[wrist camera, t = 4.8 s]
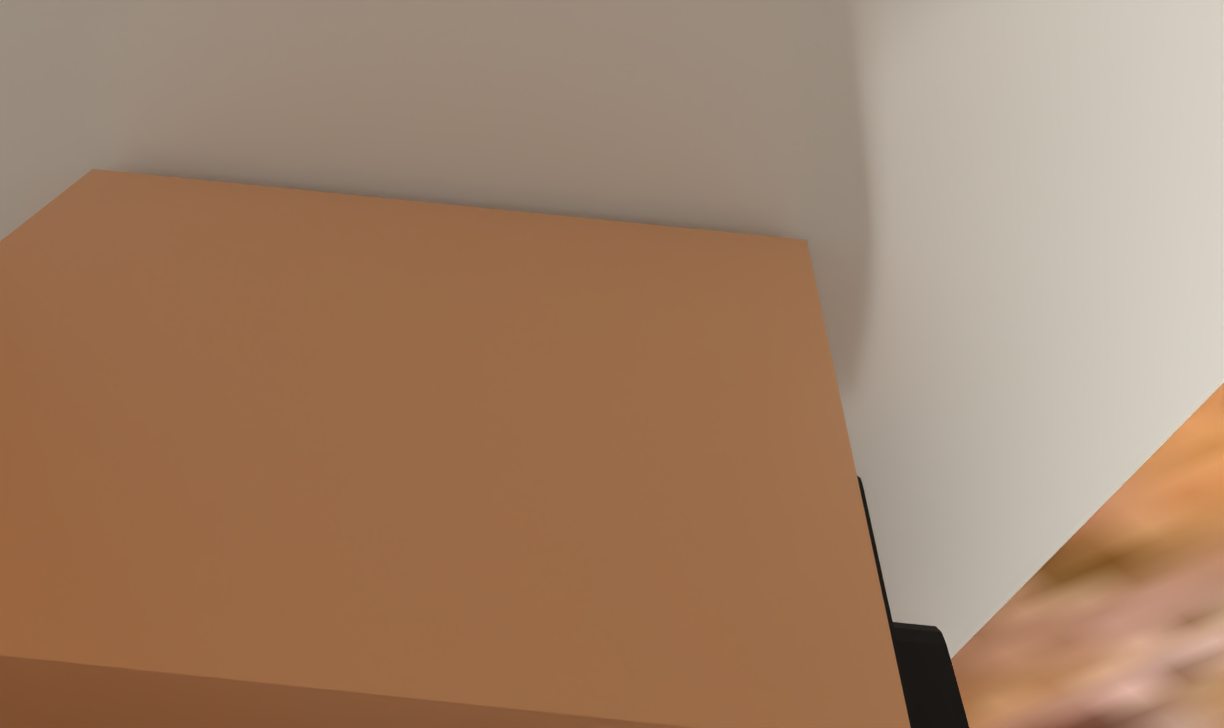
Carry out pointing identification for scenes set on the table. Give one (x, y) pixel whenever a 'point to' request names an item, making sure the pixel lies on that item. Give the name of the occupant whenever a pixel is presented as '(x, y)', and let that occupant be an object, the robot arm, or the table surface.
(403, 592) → the brown block
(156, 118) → the post board
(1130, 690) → the table surface
